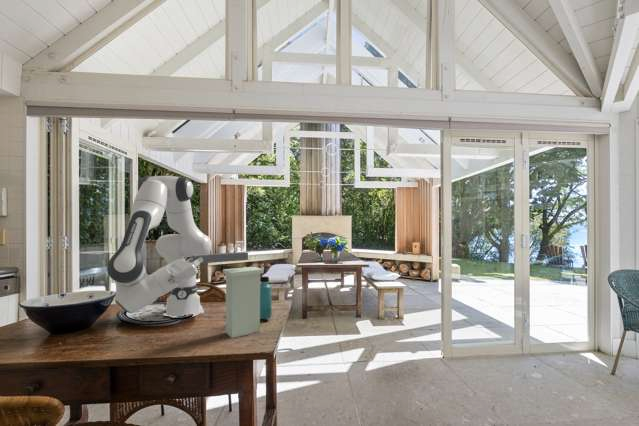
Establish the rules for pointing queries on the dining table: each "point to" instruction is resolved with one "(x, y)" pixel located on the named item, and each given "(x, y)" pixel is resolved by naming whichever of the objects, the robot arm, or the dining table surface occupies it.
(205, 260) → the graphite bar
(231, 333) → the sage stand
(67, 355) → the dining table surface
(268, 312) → the beverage bottle
